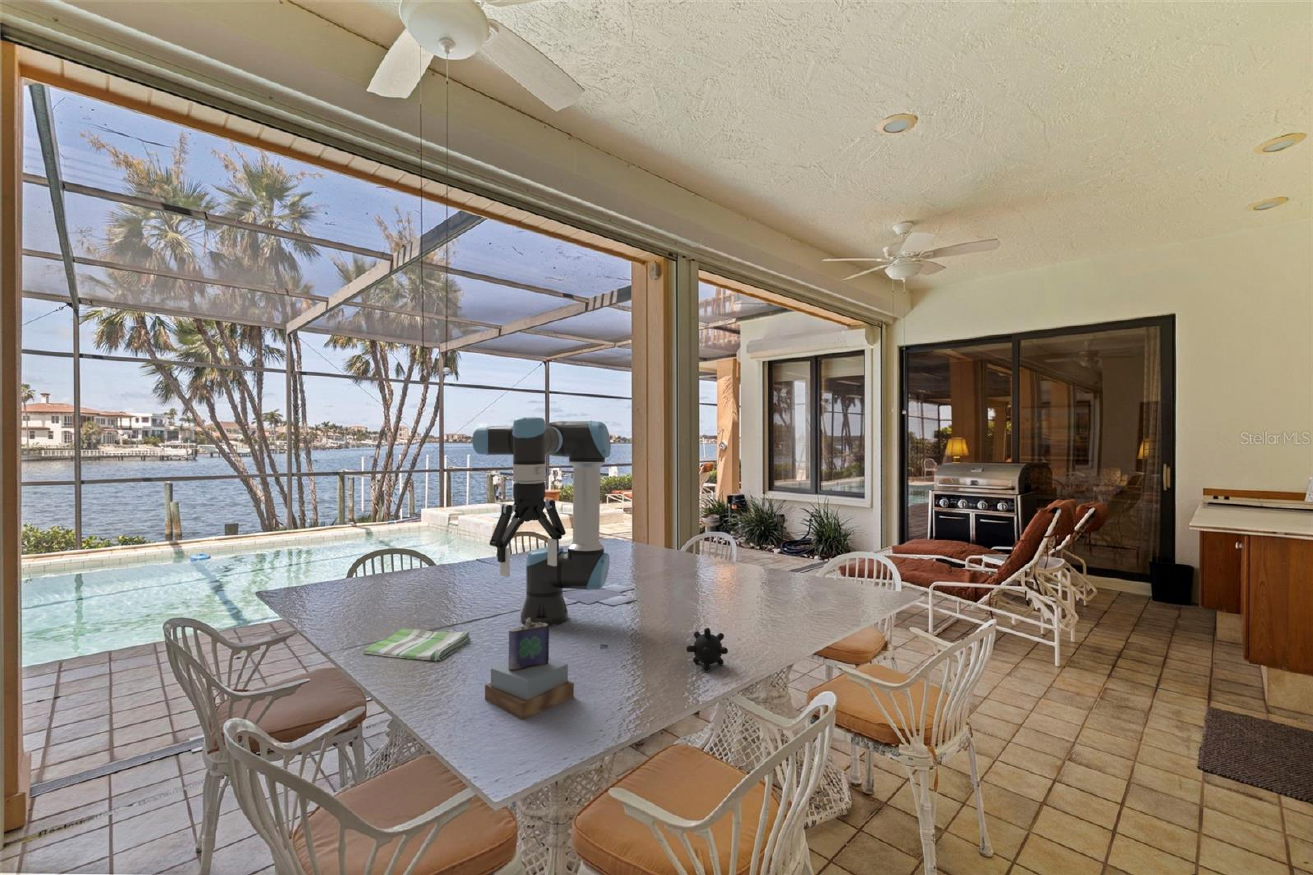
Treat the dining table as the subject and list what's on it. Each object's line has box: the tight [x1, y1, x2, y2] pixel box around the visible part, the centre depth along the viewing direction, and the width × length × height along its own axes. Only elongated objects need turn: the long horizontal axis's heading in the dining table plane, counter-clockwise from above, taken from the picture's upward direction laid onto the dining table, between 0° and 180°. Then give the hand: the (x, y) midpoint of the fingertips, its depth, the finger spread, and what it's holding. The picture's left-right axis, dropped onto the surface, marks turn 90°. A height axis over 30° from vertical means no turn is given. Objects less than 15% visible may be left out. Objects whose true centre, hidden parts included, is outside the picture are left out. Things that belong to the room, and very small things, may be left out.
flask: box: [508, 618, 550, 671], centre depth 127 cm, size 9×3×11 cm, turn 120°
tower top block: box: [490, 657, 569, 700], centre depth 127 cm, size 12×12×4 cm
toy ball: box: [686, 627, 729, 672], centre depth 146 cm, size 11×11×12 cm
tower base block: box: [484, 680, 575, 720], centre depth 127 cm, size 14×14×4 cm
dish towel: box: [363, 628, 471, 662], centre depth 159 cm, size 17×23×4 cm
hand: (529, 570), depth 135 cm, fingers open, 13 cm apart
